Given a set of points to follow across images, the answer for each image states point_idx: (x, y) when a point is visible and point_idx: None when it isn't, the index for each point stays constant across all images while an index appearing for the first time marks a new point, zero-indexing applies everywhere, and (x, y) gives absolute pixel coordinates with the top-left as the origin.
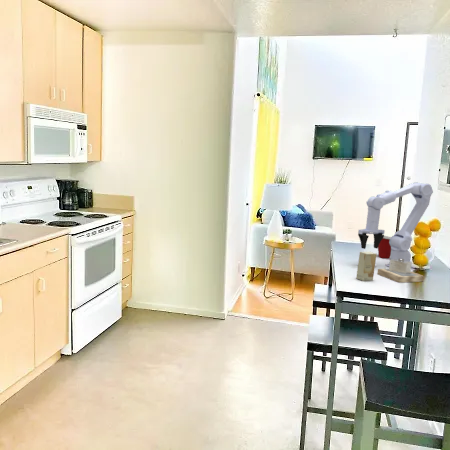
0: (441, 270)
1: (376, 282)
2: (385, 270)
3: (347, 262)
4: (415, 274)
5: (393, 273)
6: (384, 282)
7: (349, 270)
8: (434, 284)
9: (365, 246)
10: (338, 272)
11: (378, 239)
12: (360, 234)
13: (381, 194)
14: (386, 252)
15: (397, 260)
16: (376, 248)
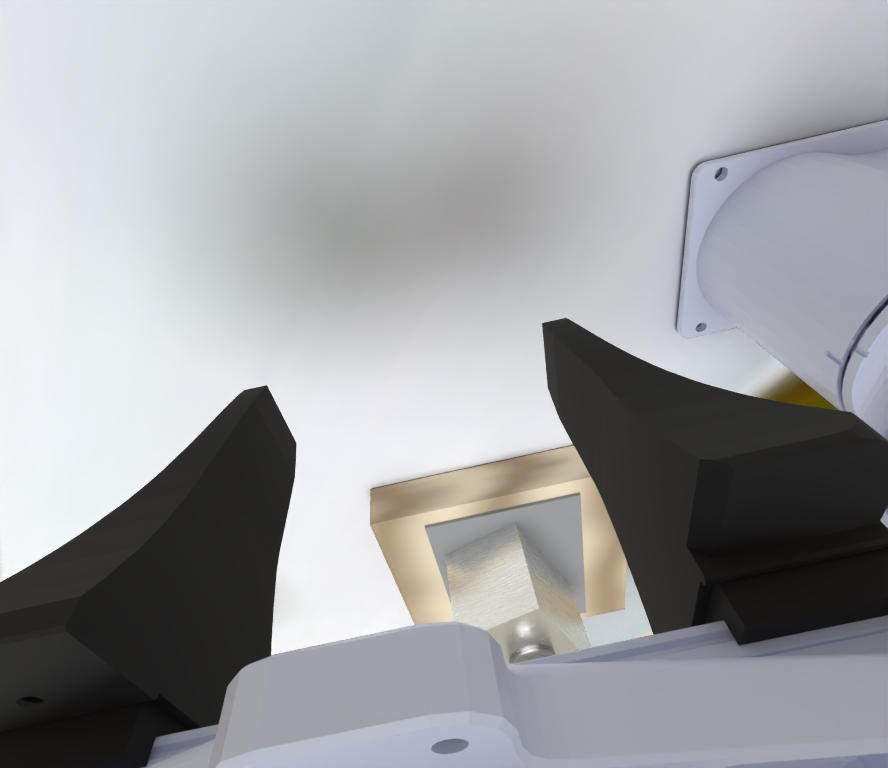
0: None
1: (272, 630)
2: (416, 550)
3: (174, 4)
4: (584, 603)
5: (434, 599)
6: (327, 623)
7: (129, 421)
8: (629, 607)
9: (284, 486)
10: (5, 491)
11: (624, 537)
12: (14, 728)
13: None
14: None
15: (513, 648)
16: (548, 387)
